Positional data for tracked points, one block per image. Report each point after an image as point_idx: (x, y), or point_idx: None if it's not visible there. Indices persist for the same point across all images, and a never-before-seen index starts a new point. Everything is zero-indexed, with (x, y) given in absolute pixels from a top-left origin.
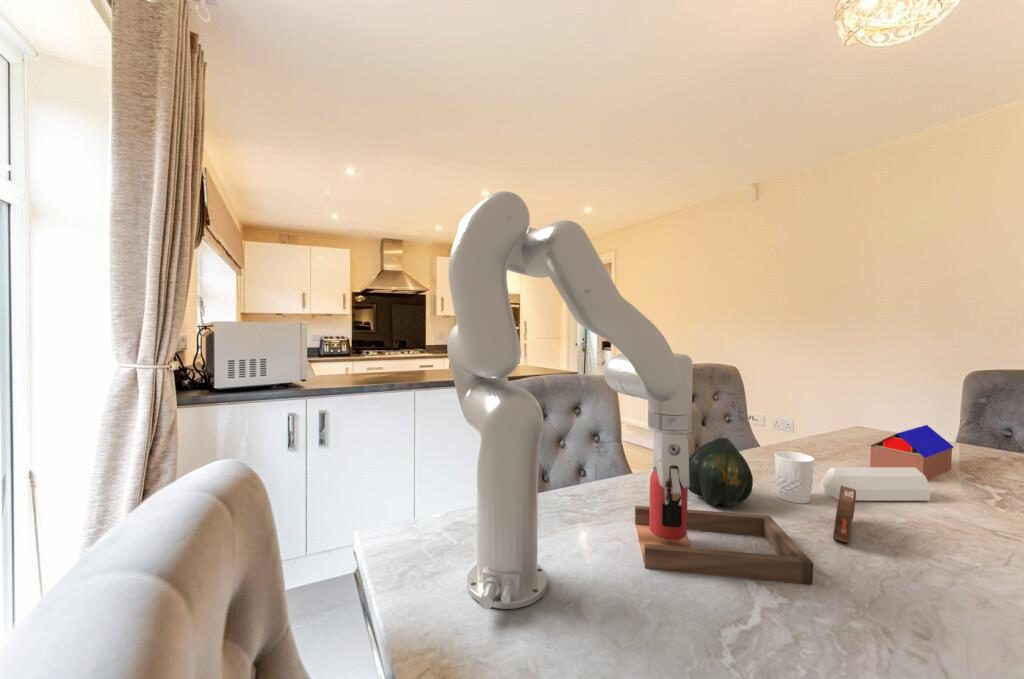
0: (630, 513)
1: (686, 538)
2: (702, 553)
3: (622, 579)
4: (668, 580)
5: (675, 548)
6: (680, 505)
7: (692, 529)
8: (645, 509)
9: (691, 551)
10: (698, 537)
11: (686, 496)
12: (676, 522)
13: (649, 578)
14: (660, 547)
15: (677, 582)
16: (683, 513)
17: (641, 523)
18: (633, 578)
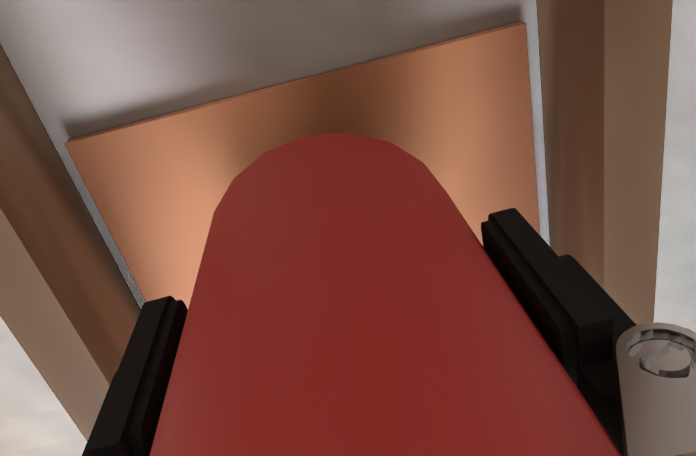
0: (32, 420)
1: (205, 110)
2: (668, 15)
3: (689, 326)
4: (676, 164)
5: (634, 189)
6: (685, 337)
7: (14, 75)
8: None
9: (657, 92)
10: (109, 28)
11: (455, 320)
12: (571, 259)
13: (670, 240)
14: (636, 266)
15: (688, 124)
16: (462, 237)
17: None
18: (678, 294)
